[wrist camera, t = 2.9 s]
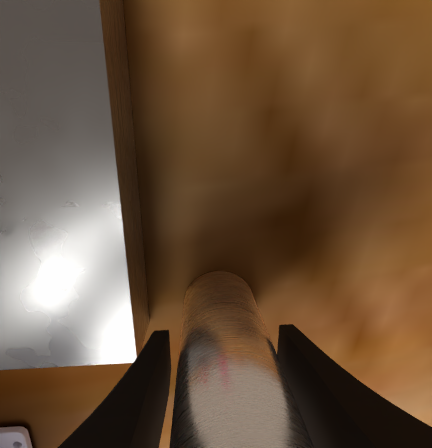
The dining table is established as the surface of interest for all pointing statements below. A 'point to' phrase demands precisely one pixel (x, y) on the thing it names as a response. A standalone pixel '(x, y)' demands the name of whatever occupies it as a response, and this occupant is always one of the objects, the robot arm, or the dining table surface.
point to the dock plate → (68, 188)
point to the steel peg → (230, 374)
